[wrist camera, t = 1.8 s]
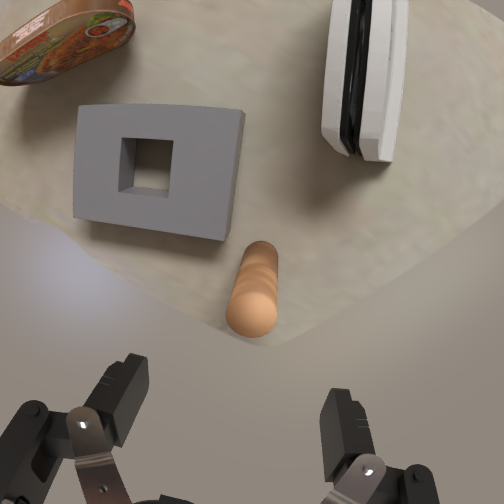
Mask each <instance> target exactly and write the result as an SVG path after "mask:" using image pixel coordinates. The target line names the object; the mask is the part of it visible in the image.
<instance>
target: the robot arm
mask: <svg viewBox="0 0 504 504" xmlns="http://www.w3.org/2000/svg"><path fill="white" fill-rule="evenodd" d="M148 387H149V374H148V360H147V358H146V357H144V356H140V355H136V354H133V353H130V354H129V355H128V356H127V358H126V360H125V361H124V363H122V362H119V361H117V362H115V363H114V364H112V365H111V366H109V367H108V368H107V370H106V371H105V373H104V375H103V376H102V378H101V379H100V381H99V383H98V384H97V385H96V387H95V388H94V390H93V391H92V393H91V394H90V396H89V397H88V399H87V401H86V402H85V404H84V405H83V406H82V407H77V408H74V409H72V410H71V411H70V412H69V413H62V412H53V411H49V410H48V408H47V406H46V405H45V404H44V403H43V402H40V401H37V400H30V401H27V402H25V403H24V404H23V405H22V406H21V407H20V408H19V410H18V411H17V413H16V414H15V416H14V417H13V419H12V420H11V422H10V423H9V425H8V426H7V428H6V429H5V431H4V432H3V434H2V435H1V437H0V504H43V503H44V500H45V498H46V496H47V493H48V491H49V489H50V487H51V484H52V482H53V480H54V478H55V476H56V473H57V471H58V469H59V467H60V465H61V463H62V461H63V458H68V459H75V461H76V462H75V468H76V471H77V475H78V478H79V482H80V485H81V488H82V491H83V494H84V497H85V500H86V503H87V504H132V502H131V500H130V498H129V495H128V493H127V491H126V488H125V486H124V484H123V481H122V479H121V477H120V474H119V472H118V469H117V467H116V464H115V461H114V459H113V456H112V454H111V451H112V448H113V446H114V445H115V446H118V447H121V448H122V446H123V444H124V442H125V440H126V438H127V435H128V433H129V431H130V429H131V427H132V424H133V422H134V420H135V418H136V416H137V414H138V411H139V409H140V407H141V405H142V402H143V401H144V399H145V397H146V394H147V391H148ZM368 427H369V425H368V421H367V417H366V413H365V409H364V408H363V407H362V405H361V404H360V403H359V401H352V399H351V395H350V391H349V389H339V388H332V389H331V390H330V392H329V394H328V396H327V399H326V401H325V403H324V406H323V408H322V411H321V414H320V432H321V442H322V452H323V463H324V475H325V482H333V484H334V488H333V489H332V490H331V491H330V492H329V494H328V495H327V496H326V497H325V498H324V500H323V501H322V502H321V503H320V504H440V503H439V499H438V494H437V490H436V486H435V482H434V478H433V475H432V472H431V471H430V470H429V469H428V468H427V467H426V466H423V465H420V464H415V465H411V466H409V467H408V468H407V469H406V470H401V469H397V468H392V467H388V466H386V465H385V463H384V461H383V460H382V459H381V458H380V457H378V456H376V454H375V450H374V446H373V441H372V437H371V433H370V429H369V428H368ZM134 504H194V503H191V502H189V501H186V500H182V499H177V498H173V497H169V496H165V495H160V498H159V500H146V501H140V502H136V503H134Z"/></svg>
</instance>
